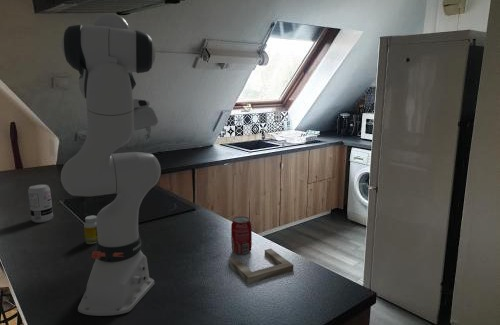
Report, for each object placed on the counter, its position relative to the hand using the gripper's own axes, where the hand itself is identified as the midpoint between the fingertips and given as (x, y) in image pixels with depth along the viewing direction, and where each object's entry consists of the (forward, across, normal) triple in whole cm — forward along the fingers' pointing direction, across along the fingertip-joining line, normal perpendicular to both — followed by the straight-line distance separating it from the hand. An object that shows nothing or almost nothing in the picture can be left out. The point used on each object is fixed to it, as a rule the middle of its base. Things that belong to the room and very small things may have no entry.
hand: (137, 142), depth 141 cm
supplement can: (+17, -36, +46) cm, 61 cm away
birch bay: (+53, +14, -36) cm, 66 cm away
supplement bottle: (+30, -24, +12) cm, 41 cm away
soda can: (+49, +15, -24) cm, 57 cm away
